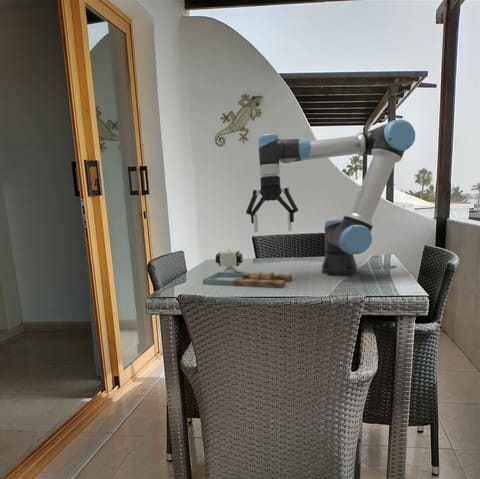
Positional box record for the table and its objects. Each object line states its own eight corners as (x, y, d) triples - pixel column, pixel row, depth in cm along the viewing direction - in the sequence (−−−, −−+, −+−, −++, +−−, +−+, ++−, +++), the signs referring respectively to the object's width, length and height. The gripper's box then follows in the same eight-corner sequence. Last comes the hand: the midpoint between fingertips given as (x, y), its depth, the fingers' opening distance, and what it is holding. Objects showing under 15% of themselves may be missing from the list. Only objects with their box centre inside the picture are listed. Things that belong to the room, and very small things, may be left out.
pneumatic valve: (241, 276, 159) (240, 249, 157) (216, 276, 161) (214, 250, 160) (244, 273, 164) (242, 248, 163) (219, 273, 167) (218, 248, 165)
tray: (246, 280, 151) (245, 273, 151) (232, 288, 139) (232, 280, 138) (218, 278, 156) (218, 272, 156) (203, 286, 144) (202, 279, 143)
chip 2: (273, 281, 141) (273, 271, 141) (270, 284, 138) (270, 274, 137) (264, 281, 143) (263, 271, 142) (261, 283, 139) (260, 273, 139)
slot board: (291, 281, 144) (291, 274, 143) (282, 291, 131) (281, 283, 130) (246, 280, 151) (245, 273, 151) (232, 288, 139) (232, 280, 138)
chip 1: (262, 281, 143) (262, 271, 143) (259, 283, 139) (259, 273, 139) (253, 280, 145) (253, 271, 144) (250, 283, 141) (249, 273, 140)
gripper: (304, 174, 135) (306, 229, 138) (242, 178, 144) (245, 231, 146) (300, 173, 128) (303, 231, 131) (236, 178, 137) (239, 233, 139)
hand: (272, 231), depth 138 cm, fingers open, 13 cm apart
